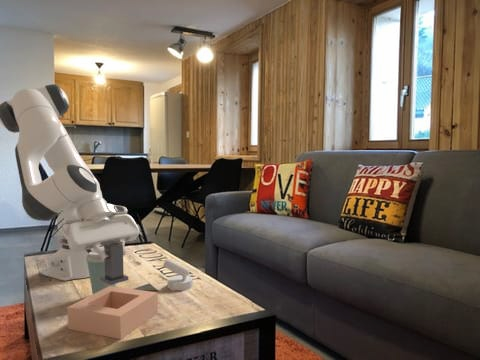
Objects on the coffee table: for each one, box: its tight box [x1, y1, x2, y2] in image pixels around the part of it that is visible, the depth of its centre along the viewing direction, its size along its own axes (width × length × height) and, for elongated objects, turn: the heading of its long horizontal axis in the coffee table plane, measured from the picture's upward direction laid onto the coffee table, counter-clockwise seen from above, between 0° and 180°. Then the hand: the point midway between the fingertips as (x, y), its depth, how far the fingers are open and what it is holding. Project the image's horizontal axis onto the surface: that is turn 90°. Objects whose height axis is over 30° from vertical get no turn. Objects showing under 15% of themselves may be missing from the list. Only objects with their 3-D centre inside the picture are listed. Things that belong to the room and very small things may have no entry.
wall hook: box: [163, 258, 194, 291], centre depth 137 cm, size 9×10×10 cm
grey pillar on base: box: [100, 243, 129, 285], centre depth 109 cm, size 5×5×10 cm
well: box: [66, 286, 159, 340], centre depth 110 cm, size 17×17×6 cm
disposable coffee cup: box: [86, 251, 117, 295], centre depth 128 cm, size 11×11×15 cm
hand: (114, 256), depth 109 cm, fingers closed on grey pillar on base, 4 cm apart
